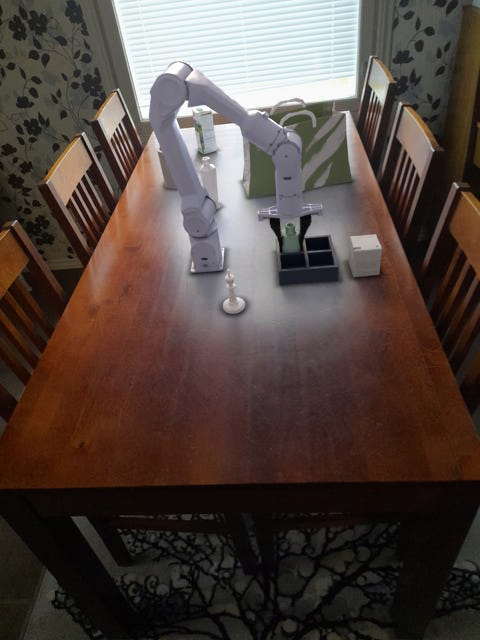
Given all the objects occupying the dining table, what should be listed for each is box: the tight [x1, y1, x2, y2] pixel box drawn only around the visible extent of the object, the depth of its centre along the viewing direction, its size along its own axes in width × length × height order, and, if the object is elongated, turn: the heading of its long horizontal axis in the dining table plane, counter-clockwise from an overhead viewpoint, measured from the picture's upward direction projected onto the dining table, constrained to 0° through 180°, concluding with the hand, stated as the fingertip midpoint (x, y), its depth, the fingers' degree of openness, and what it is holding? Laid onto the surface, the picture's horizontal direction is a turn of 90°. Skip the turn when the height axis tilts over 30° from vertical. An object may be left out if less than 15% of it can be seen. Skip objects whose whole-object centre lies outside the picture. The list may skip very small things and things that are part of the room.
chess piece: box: [222, 268, 246, 315], centre depth 97 cm, size 5×5×10 cm
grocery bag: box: [242, 97, 353, 199], centre depth 134 cm, size 32×14×23 cm, turn 98°
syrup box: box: [191, 106, 218, 155], centre depth 163 cm, size 6×6×14 cm
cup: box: [156, 145, 178, 190], centre depth 146 cm, size 9×9×12 cm
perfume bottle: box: [199, 156, 221, 210], centre depth 130 cm, size 5×4×15 cm
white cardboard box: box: [348, 233, 383, 278], centre depth 103 cm, size 6×6×7 cm
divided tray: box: [275, 234, 339, 286], centre depth 107 cm, size 13×13×4 cm
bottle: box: [281, 222, 300, 253], centre depth 107 cm, size 4×4×7 cm
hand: (291, 243), depth 108 cm, fingers closed on bottle, 4 cm apart
